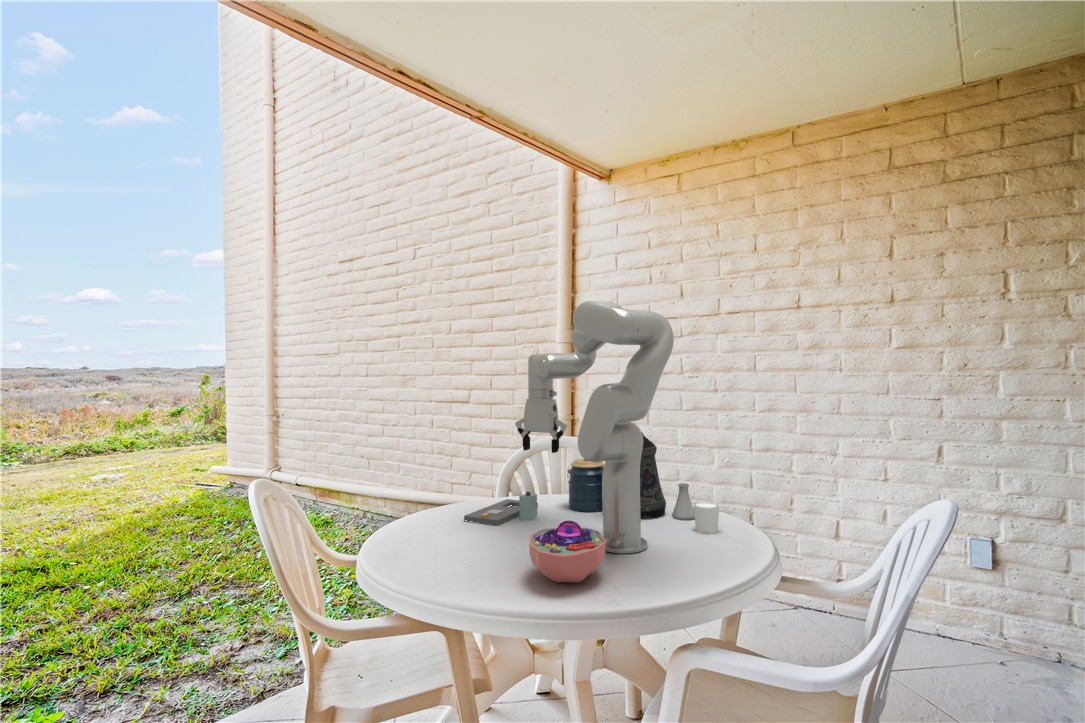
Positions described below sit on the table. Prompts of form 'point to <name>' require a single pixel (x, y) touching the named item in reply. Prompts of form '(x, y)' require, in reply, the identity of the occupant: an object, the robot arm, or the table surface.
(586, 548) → the cell model
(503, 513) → the outlet plate
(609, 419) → the robot arm
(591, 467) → the canister
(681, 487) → the flask
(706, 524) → the grey cylinder
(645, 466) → the beer stein
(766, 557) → the table surface
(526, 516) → the block
